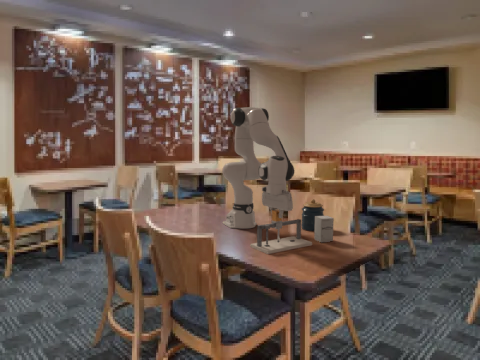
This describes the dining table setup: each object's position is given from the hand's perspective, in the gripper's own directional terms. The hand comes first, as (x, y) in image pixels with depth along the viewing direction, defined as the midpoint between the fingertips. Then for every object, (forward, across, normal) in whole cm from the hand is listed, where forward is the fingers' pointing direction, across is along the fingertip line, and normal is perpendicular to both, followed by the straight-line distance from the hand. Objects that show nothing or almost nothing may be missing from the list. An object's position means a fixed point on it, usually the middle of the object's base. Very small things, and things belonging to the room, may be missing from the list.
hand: (276, 217), depth 196 cm
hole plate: (+15, -2, -2) cm, 15 cm away
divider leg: (+12, 0, 0) cm, 12 cm away
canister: (+15, +17, -40) cm, 46 cm away
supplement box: (+15, -6, -27) cm, 31 cm away
